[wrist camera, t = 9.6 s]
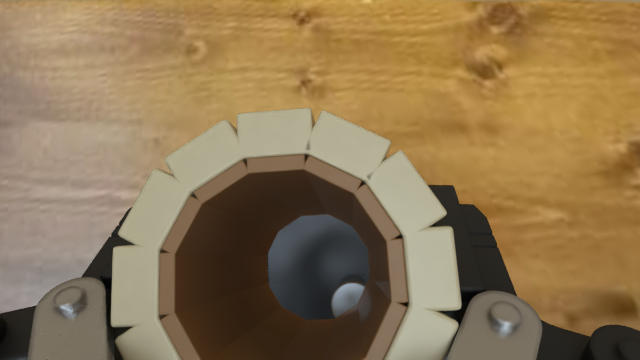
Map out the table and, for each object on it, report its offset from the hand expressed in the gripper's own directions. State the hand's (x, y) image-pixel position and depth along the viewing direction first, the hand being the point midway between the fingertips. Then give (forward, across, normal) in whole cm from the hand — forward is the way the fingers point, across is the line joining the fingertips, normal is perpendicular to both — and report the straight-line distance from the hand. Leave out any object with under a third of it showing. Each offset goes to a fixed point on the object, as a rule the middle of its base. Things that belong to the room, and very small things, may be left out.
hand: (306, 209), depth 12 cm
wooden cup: (+2, 0, +4) cm, 5 cm away
